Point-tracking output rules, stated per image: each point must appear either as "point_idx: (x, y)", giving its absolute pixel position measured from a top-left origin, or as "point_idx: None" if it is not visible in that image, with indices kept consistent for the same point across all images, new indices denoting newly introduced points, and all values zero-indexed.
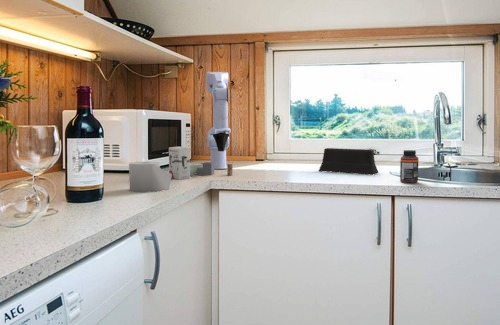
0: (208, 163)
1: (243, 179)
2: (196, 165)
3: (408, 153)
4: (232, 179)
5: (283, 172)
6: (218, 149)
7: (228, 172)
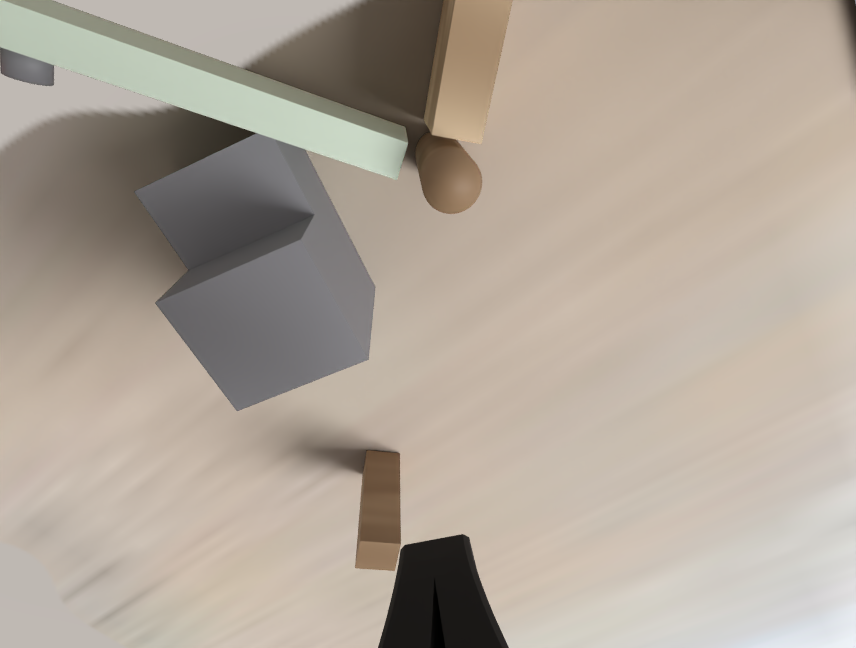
0: (215, 375)
1: (261, 631)
2: (184, 107)
3: None
4: (204, 591)
5: (745, 622)
6: (398, 585)
7: (363, 481)
